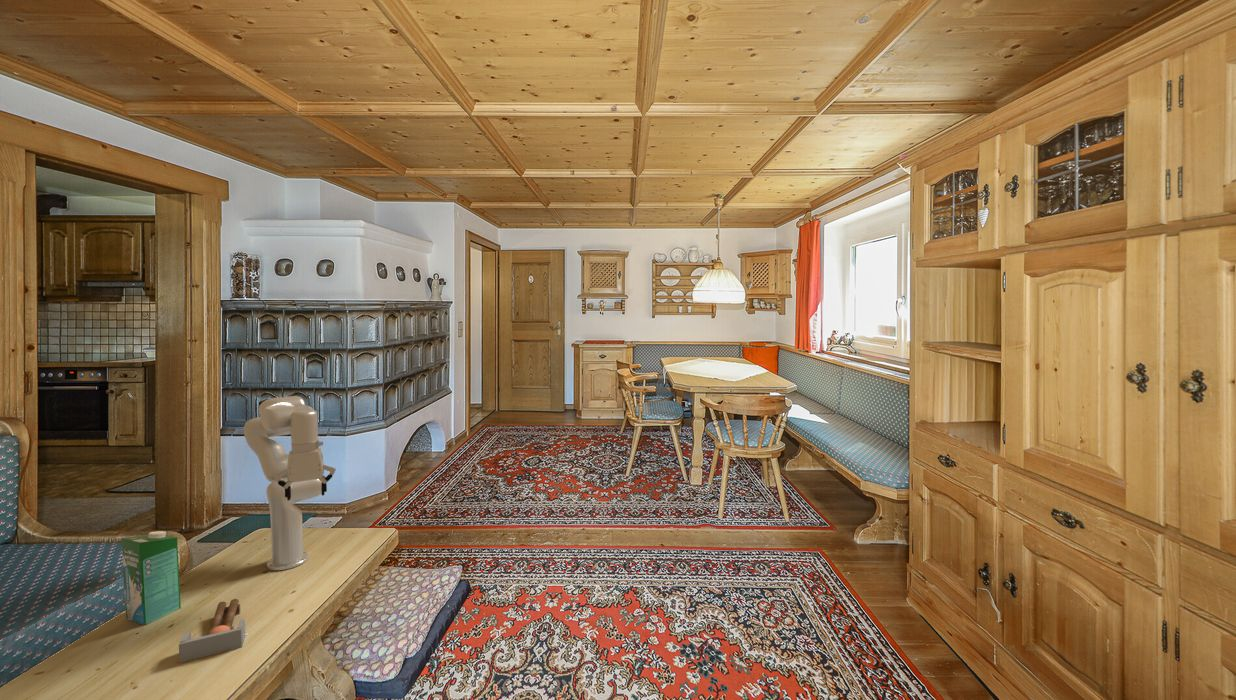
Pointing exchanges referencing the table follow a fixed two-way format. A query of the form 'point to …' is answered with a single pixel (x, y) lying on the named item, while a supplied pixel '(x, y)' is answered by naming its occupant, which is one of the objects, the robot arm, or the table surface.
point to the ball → (219, 629)
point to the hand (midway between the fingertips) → (306, 496)
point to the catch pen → (211, 643)
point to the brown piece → (225, 614)
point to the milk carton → (150, 576)
